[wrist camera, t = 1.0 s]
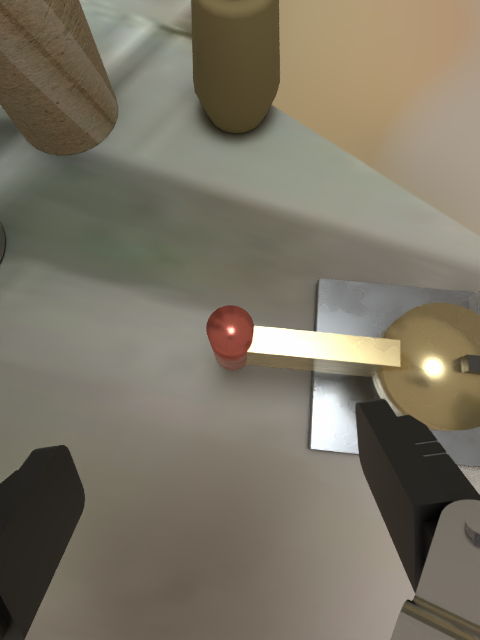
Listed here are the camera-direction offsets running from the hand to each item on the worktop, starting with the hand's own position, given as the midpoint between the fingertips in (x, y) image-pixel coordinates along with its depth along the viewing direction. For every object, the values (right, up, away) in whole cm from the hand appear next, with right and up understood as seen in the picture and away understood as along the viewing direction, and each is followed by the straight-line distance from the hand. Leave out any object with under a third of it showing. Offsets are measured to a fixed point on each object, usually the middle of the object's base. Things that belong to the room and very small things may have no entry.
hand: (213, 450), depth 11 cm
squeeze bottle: (0, +25, +30) cm, 39 cm away
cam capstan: (+8, +1, +17) cm, 19 cm away
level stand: (+14, -1, +22) cm, 26 cm away
